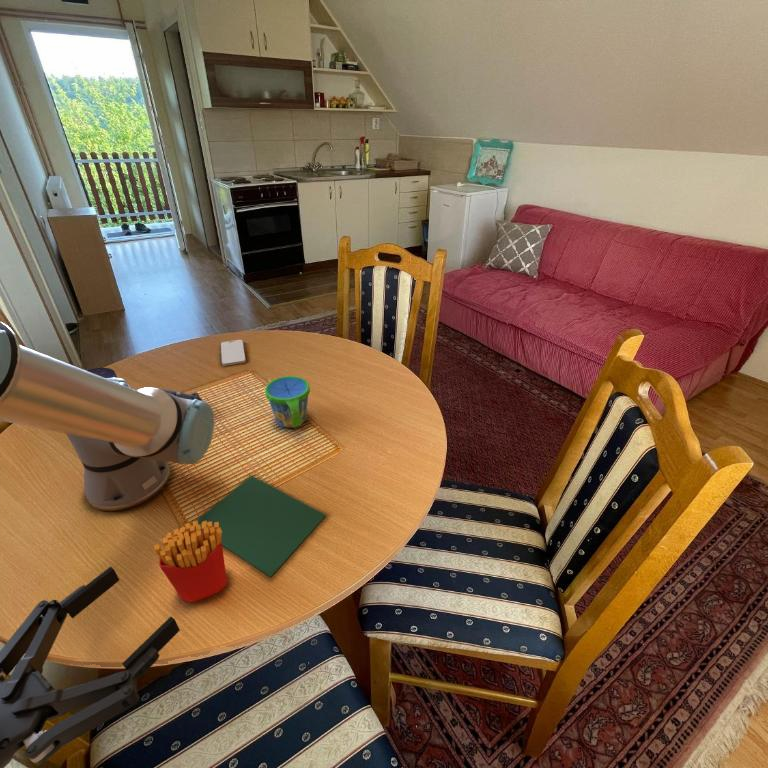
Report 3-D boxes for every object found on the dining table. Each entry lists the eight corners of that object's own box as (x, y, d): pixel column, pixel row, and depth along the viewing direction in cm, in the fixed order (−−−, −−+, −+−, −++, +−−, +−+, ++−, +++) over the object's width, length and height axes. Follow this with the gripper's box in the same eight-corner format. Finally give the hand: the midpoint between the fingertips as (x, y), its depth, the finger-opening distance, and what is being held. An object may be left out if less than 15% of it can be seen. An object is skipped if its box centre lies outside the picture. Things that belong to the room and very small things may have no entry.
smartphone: (221, 364, 127) (220, 342, 139) (222, 367, 128) (220, 345, 139) (246, 360, 129) (242, 339, 141) (246, 363, 130) (243, 342, 142)
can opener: (212, 410, 108) (207, 392, 105) (191, 424, 103) (186, 406, 100) (164, 393, 115) (158, 376, 112) (142, 406, 109) (135, 388, 106)
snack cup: (317, 435, 100) (314, 401, 95) (272, 443, 98) (267, 408, 92) (307, 400, 113) (304, 368, 107) (268, 406, 110) (262, 373, 105)
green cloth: (191, 525, 77) (191, 524, 77) (251, 476, 88) (251, 475, 88) (270, 577, 69) (270, 576, 69) (326, 515, 80) (325, 514, 80)
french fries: (176, 609, 64) (152, 557, 57) (175, 585, 68) (152, 533, 61) (237, 585, 68) (221, 533, 61) (233, 564, 71) (218, 512, 64)
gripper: (-80, 710, 49) (102, 570, 64) (22, 878, 38) (210, 661, 54) (-120, 681, 45) (84, 539, 60) (-19, 859, 34) (197, 631, 50)
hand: (144, 596), depth 57 cm, fingers open, 13 cm apart
